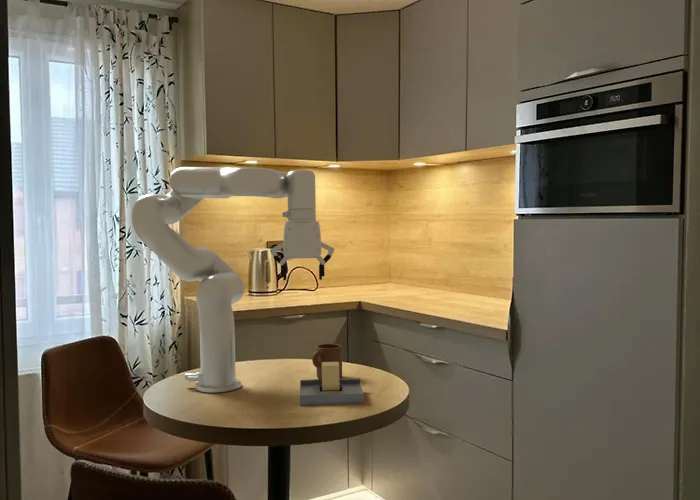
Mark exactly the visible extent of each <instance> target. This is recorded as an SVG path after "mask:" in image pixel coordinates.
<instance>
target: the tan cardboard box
mask: <svg viewBox="0 0 700 500" xmlns="http://www.w3.org/2000/svg"><path fill="white" fill-rule="evenodd" d="M326 391H340V386H339V362H322V392H326Z"/></svg>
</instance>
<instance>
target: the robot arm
mask: <svg viewBox="0 0 700 500" xmlns="http://www.w3.org/2000/svg"><path fill="white" fill-rule="evenodd" d="M168 185H169V188H170V191H169V192H168V193H167V194H162V193H161V194H158V193H150V194H149V193H148V194H145V195H142V196H140V197H139V198H138V199H136V201H135V202H134V204H133V207H132V209H131V222H132V226H133V230H134V231H135V233H136V234H135V235H137V237H138V238H139V239H140V240H141V242H143V244H144V245H145V246H146V247H148V249H150V251H151V252H153V253H154V254H155V255H156V256H157V257H158V258H159V260H161V262H162V263H163V264H165V265H166V267H168V269H170V270H171V271H172V272H173V274H175V275H176V276H177V277H178V278H179V279H180V280H182V281H184V282H188V283H190V282H197V281H199V283H198V285H197V287H196V293H195V299H196V303H197V304H196V305H197V310H198V321H199V347H200V348H199V353H200V354H199V355H200V371H196V373H192V372H190V373H187V372H186V373H185V374H184V379H185V381H187V382H196V383H195V388H194V389H195V390H197V391H198V392H202V393H213V394H214V393H226V392H231V391H235V390H237V389H239V388H241V386H242V381H241V380H240V379H238V378H236V339H235V338H236V337H235V335H236V333H235V330H236V329H235V316H234V311H233V306H232V305H234V304H236V303H237V302H239V301H240V300H241V299H242V298H243V296H244V293H245V284H244V281H243V279H242V277H240V275H239V274H238V273H237V272H236V271H235V270H234V269H233V268H232V267H231V266H229V264H227V262H226V261H224V260H223V259H222V257H220V256H219V255H218V254H217V253H216V252H214V251H213V250H211V249H209V248H207V247H203V246H201V247H200V246H197V247H195V246H193V245H192V244H190V243H189V242H188V241H186V239H184V238H183V237H182V235H180V234H179V233H178V232H177V231H176V230H174V229H172V228H171V227H170V226H169V225H173V224H175V223H177V222H180V221H181V220H182V219H183V218H184V217H186V216H187V215H188V214H189V213H190V212H191V211H192V210H193V209H194V208H195V207H196V206H197V205H198V204H199V203H201V201H202V200H204V199H229V198H230V197H231V198H232V197H255V198H257V197H260V198H269V199H270V198H271V199H284V198H287V210H286V211H283V212H282V214H281V215H282V218H286V219H288V220H287V221H285V222H284V226H283V227H284V228H283V238H282V240H283V242H282V243H279V244H278V245H275V246H274V247H272V248H270V249H269V251H270V253H271V256H272V257H273V259H274V261H276V262H277V264H279V265H280V277H281V278H283V279H282V280H283V281H287V265H286V262H288V260H289V259H317V261H318V262H319V265H318V279H319V280H323V277H325V265H326V263H327V262H328V261H329V260H331V257H332V256H333V254H334V252H335V248H334V247H332V246H330V245H328V244H326V243H324V242H322V237H321V236H322V235H321V226H320V222H319V220H318V221H317V219H316V218H317V214H316V213H317V210H316V208H317V207H316V205H317V204H316V198H317V197H316V195H317V194H316V175H315V172H314V171H313V170H309V169H295V170H294V169H293V170H290V171H289V172H288V171H280V170H276V169H273V168H268V167H267V168H265V167H225V166H223V167H220V166H218V167H215V166H213V167H211V166H209V167H207V166H181V167H178V168H175V169H174V170H172V172H171V173H170V175H169V178H168ZM281 249H282V253H283V257H282V258H281V257H280V256H279V254H278V253H277V252H278V251H280V250H281ZM322 249H324V250H326V251H328V252H327V253H326V255H325V256H324V257H322Z"/></svg>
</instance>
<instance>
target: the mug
mask: <svg viewBox="0 0 700 500" xmlns="http://www.w3.org/2000/svg"><path fill="white" fill-rule="evenodd" d="M342 348H343V347H342V345H340V344H336V343H322V344H318V345H316V350H315V351H314V352H313V354H312V357H311V358H312V359H311V360H312V365H313V366H314V367H315V368H316V379H322V362H339V379H342V377H343V349H342Z"/></svg>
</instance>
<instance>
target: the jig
mask: <svg viewBox="0 0 700 500" xmlns="http://www.w3.org/2000/svg"><path fill="white" fill-rule="evenodd" d="M299 381H300V386H299V406H326V405H357V404H358V405H359V404H361V405H362V404H364V397H365V396H364V395H365V394H364V390H363V388H362V385H361V378H359V377H354V378H353V377H352V378H340V379H339V386H340V391H326V392H322V379H318V378H316V379H299Z"/></svg>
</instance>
